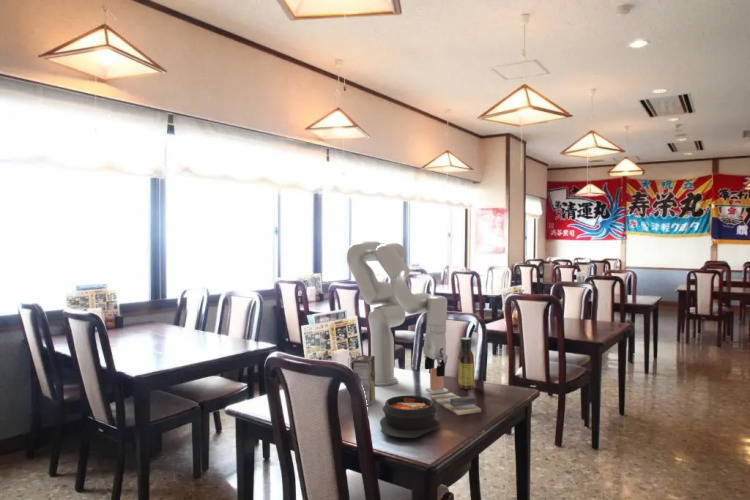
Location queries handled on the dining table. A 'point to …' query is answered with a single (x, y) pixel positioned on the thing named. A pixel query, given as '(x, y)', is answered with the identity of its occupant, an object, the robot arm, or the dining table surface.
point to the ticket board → (459, 412)
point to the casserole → (408, 416)
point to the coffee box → (366, 375)
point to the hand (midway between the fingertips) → (434, 372)
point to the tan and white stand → (436, 383)
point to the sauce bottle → (466, 365)
